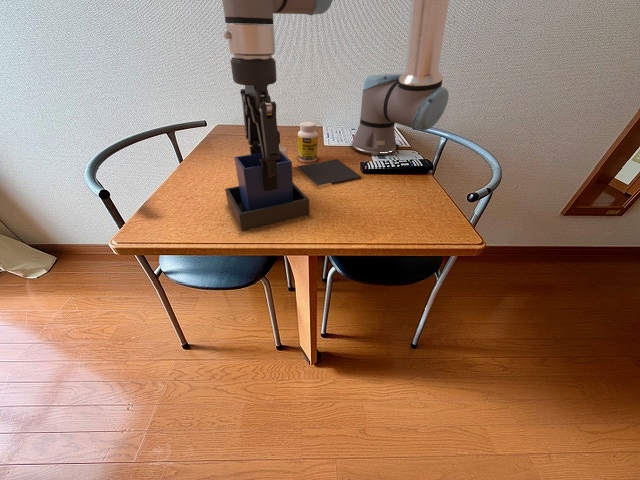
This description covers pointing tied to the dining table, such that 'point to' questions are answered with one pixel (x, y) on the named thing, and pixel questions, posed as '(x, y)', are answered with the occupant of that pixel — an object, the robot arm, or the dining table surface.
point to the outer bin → (267, 210)
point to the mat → (328, 172)
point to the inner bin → (254, 186)
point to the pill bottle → (307, 142)
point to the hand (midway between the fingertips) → (264, 181)
